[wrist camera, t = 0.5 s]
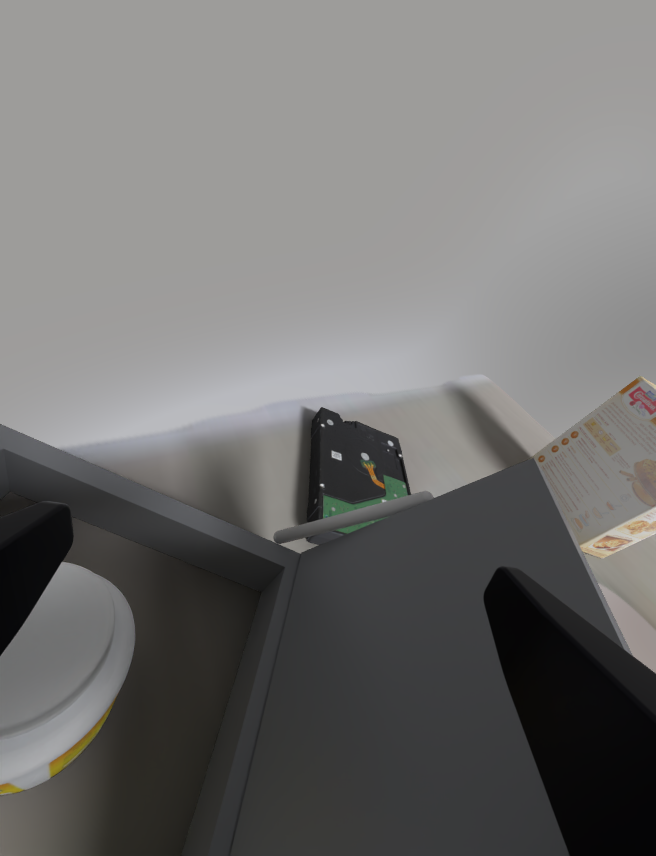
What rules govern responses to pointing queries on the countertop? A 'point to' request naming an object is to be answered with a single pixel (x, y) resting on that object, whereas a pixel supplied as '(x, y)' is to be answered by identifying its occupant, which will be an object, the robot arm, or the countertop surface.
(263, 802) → the equipment case
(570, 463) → the coffeecake box
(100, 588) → the supplement bottle
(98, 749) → the countertop surface
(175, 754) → the countertop surface
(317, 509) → the disk drive
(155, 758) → the countertop surface
